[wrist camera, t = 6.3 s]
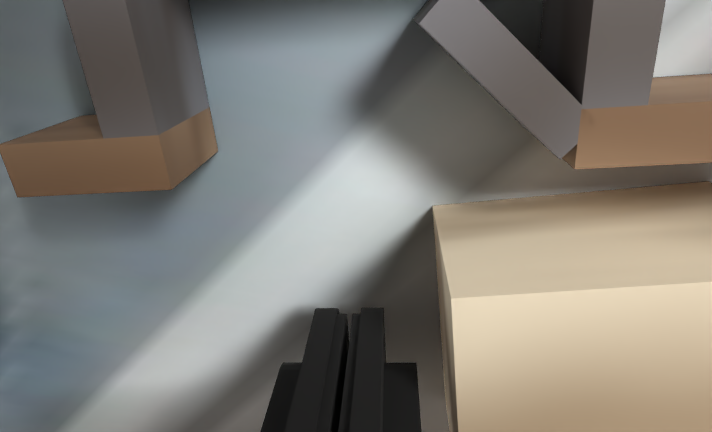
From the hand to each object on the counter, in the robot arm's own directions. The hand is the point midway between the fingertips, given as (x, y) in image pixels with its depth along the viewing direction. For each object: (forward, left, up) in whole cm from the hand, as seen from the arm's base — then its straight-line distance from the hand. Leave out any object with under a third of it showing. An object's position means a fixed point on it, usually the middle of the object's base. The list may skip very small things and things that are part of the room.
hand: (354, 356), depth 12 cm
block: (-1, +5, -1) cm, 5 cm away
